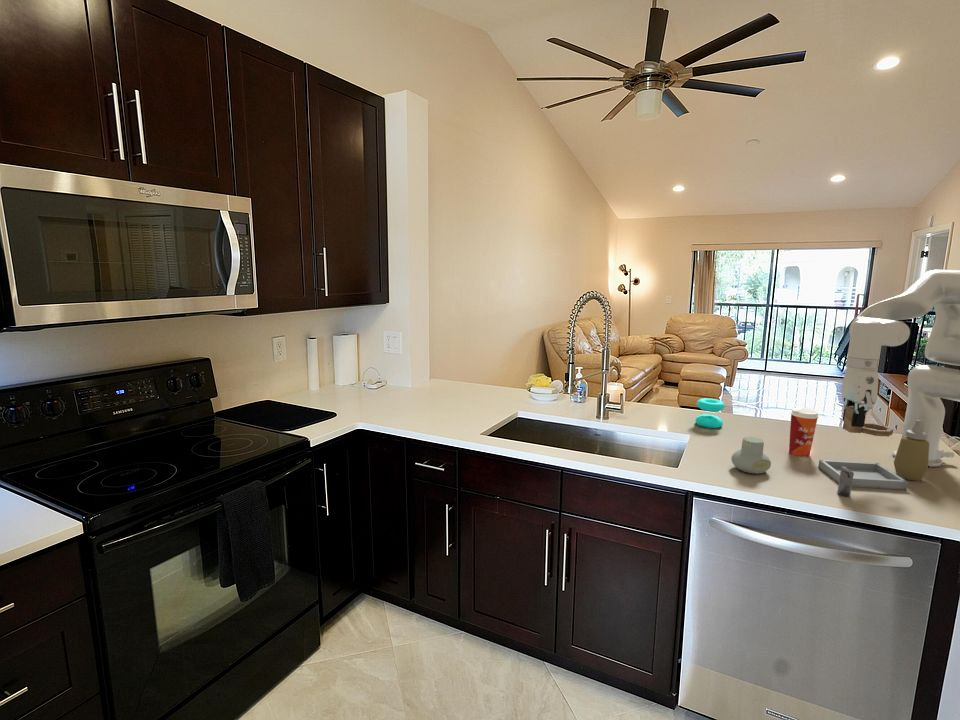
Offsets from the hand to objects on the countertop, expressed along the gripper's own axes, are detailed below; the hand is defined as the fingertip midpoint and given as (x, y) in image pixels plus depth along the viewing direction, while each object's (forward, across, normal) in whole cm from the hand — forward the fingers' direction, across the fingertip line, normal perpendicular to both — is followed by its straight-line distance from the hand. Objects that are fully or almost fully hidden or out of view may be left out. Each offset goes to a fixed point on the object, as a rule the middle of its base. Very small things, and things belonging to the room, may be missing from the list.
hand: (852, 423), depth 154 cm
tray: (+17, 0, -4) cm, 18 cm away
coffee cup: (+17, +19, +5) cm, 26 cm away
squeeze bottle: (+17, +3, -19) cm, 26 cm away
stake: (+17, -13, +7) cm, 22 cm away
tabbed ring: (+2, 0, -4) cm, 5 cm away
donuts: (+17, +46, +27) cm, 56 cm away
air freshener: (+17, +1, +27) cm, 32 cm away
